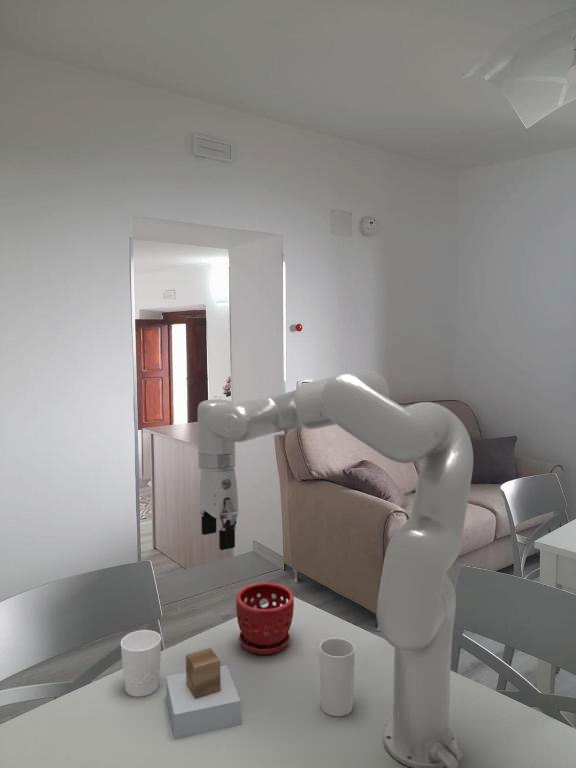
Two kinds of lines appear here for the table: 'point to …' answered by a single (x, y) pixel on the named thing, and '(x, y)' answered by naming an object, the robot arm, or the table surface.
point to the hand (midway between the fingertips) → (217, 540)
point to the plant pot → (264, 617)
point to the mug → (336, 676)
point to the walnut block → (203, 673)
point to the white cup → (141, 662)
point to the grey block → (202, 706)
